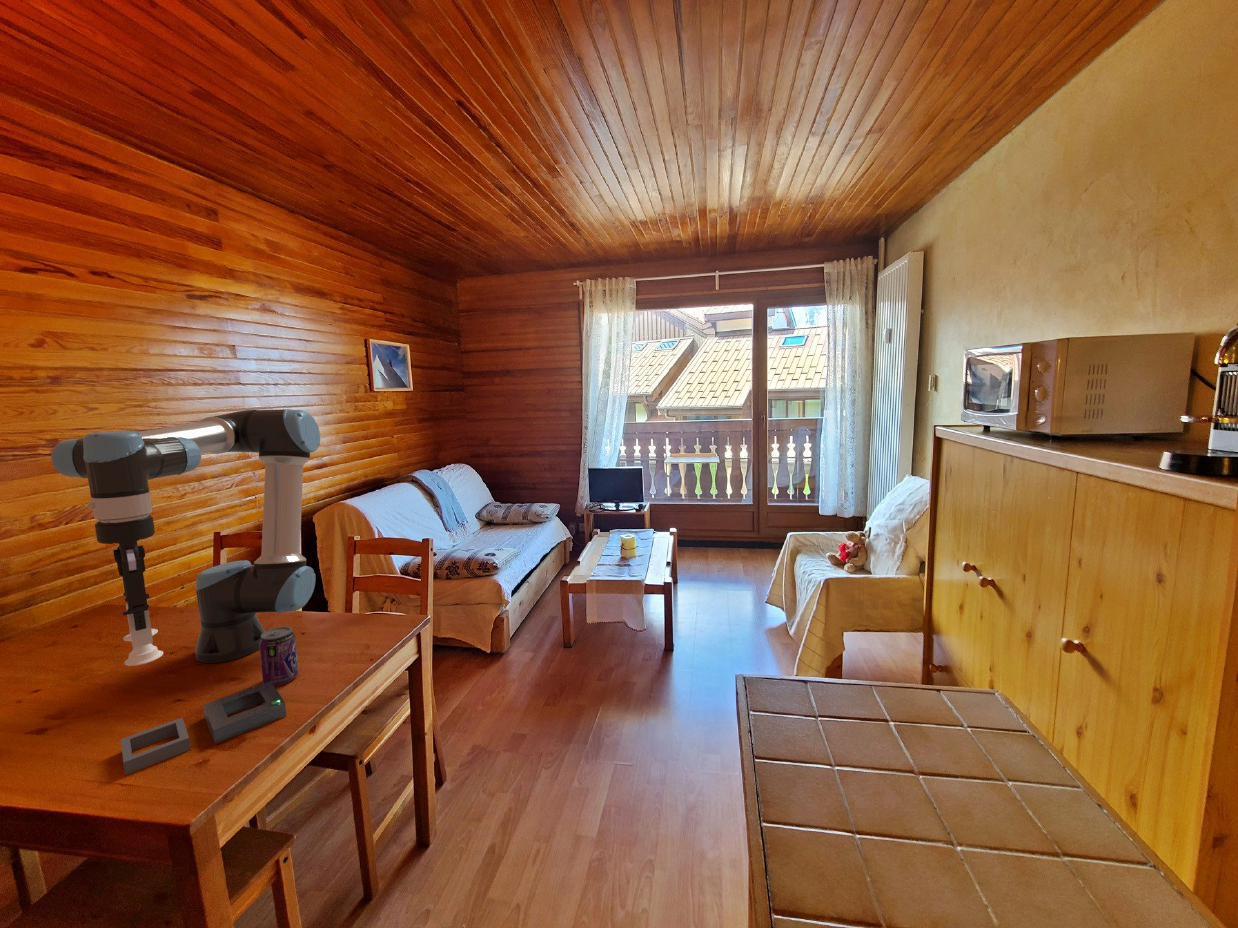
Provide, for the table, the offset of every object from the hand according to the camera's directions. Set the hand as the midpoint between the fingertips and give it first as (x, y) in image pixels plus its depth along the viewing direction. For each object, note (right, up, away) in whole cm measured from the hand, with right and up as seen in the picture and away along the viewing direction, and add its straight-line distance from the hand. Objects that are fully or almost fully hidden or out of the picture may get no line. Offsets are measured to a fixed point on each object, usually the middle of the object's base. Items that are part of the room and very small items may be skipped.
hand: (141, 639), depth 94 cm
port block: (+10, -21, +13) cm, 26 cm away
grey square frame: (0, -22, +3) cm, 22 cm away
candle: (0, -4, +1) cm, 4 cm away
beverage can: (+8, -19, +27) cm, 34 cm away
